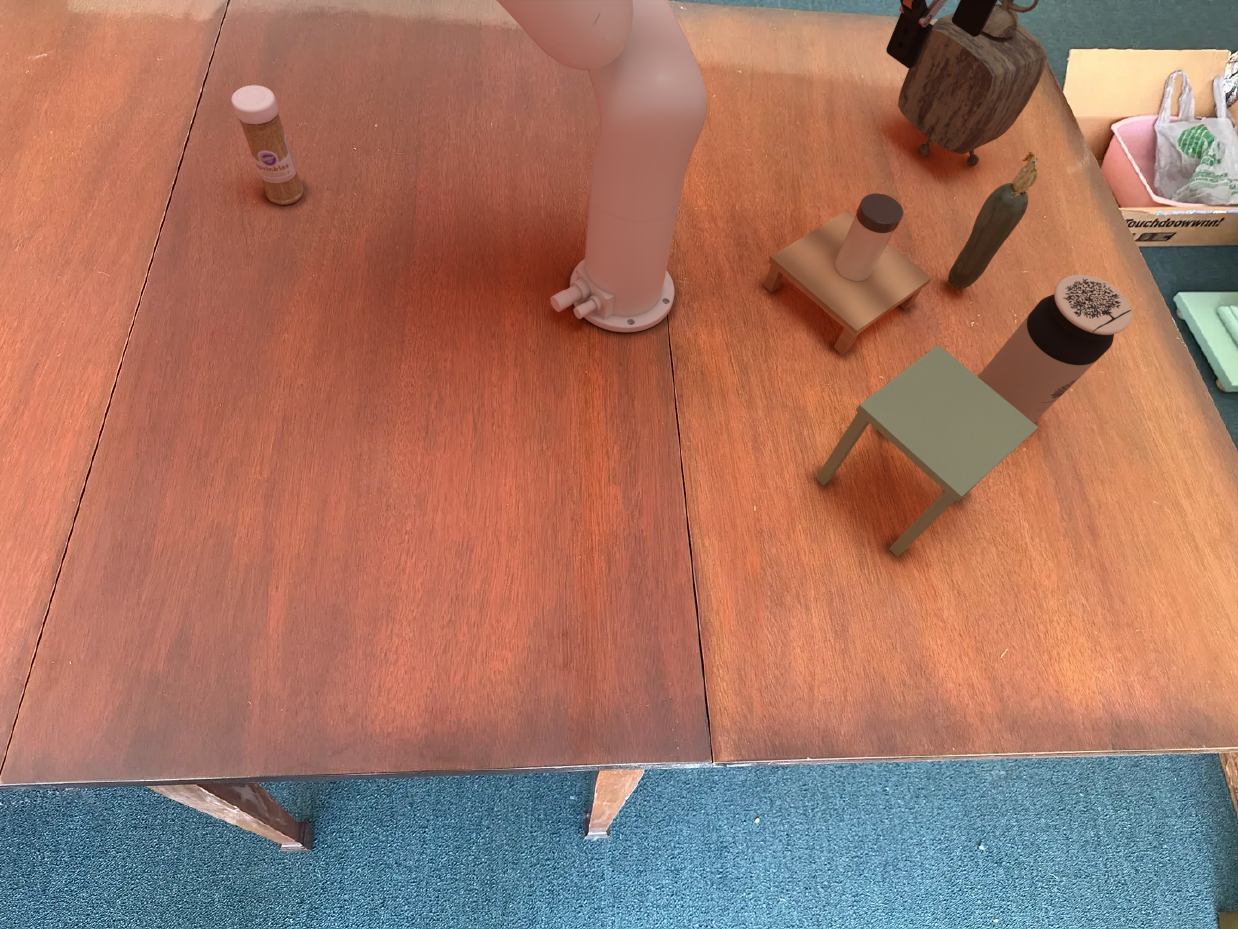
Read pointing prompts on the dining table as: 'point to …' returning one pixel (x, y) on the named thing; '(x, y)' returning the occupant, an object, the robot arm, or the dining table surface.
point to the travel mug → (1057, 343)
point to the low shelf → (837, 295)
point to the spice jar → (868, 236)
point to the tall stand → (938, 430)
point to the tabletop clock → (972, 81)
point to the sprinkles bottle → (268, 143)
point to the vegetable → (993, 226)
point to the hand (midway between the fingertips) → (932, 44)
